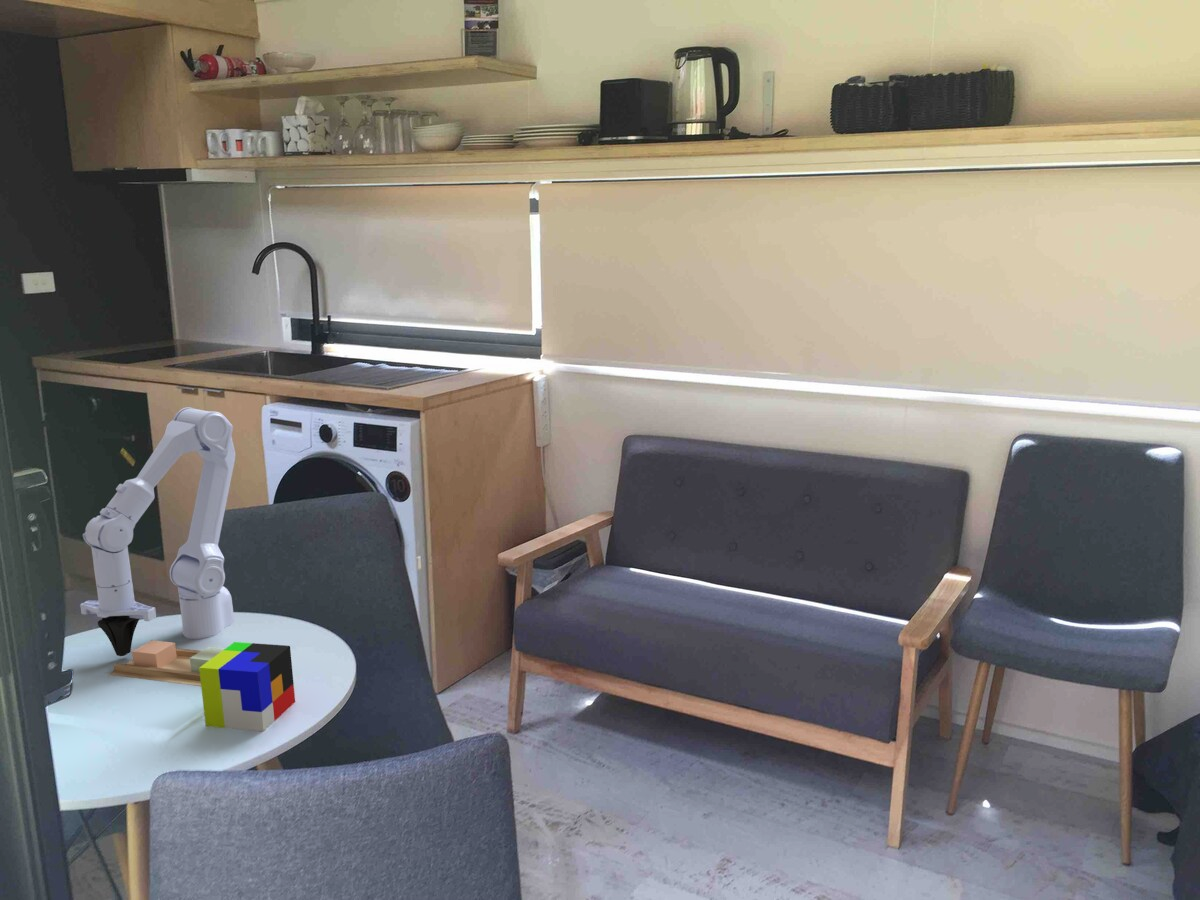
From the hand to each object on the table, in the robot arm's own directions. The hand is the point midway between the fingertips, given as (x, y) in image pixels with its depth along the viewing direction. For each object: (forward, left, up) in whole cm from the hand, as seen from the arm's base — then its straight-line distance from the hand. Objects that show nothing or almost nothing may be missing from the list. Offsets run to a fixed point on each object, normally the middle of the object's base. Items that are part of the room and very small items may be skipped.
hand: (123, 653), depth 179 cm
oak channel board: (0, +15, -2) cm, 15 cm away
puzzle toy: (+11, +34, -2) cm, 35 cm away
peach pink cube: (0, +7, -1) cm, 7 cm away
